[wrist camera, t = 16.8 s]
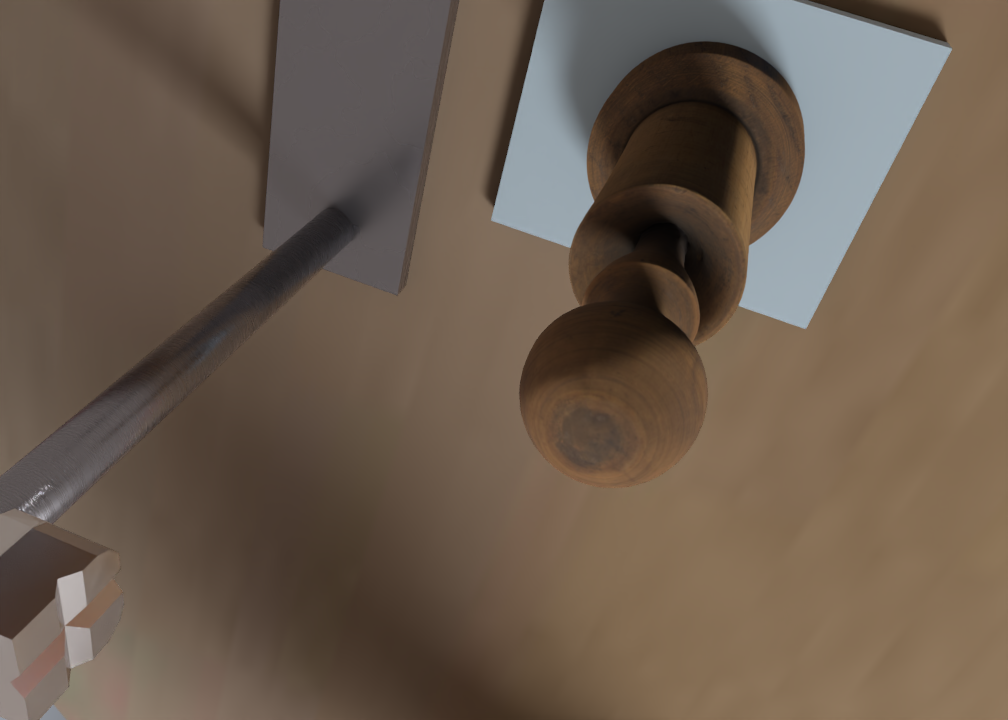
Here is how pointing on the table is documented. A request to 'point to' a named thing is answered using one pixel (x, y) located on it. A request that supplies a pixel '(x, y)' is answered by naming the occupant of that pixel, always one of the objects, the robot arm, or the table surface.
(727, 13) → the mat
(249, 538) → the table surface
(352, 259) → the retort stand
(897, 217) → the table surface
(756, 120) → the wooden turned spindle
